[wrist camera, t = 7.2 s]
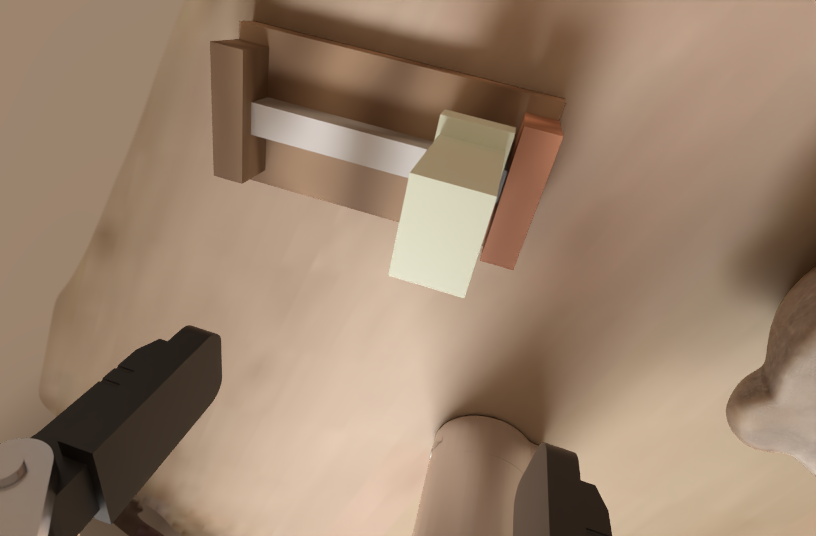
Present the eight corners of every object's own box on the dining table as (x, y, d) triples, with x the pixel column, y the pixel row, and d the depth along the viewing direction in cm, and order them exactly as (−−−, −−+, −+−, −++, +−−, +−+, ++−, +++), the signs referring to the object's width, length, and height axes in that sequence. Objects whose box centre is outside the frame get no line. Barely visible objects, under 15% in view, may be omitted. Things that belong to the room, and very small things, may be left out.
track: (563, 98, 27) (571, 116, 22) (511, 244, 32) (507, 283, 27) (252, 20, 29) (198, 21, 24) (249, 170, 34) (205, 194, 29)
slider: (516, 121, 26) (509, 174, 17) (482, 228, 30) (462, 317, 21) (450, 103, 26) (410, 147, 18) (424, 211, 30) (380, 292, 21)
